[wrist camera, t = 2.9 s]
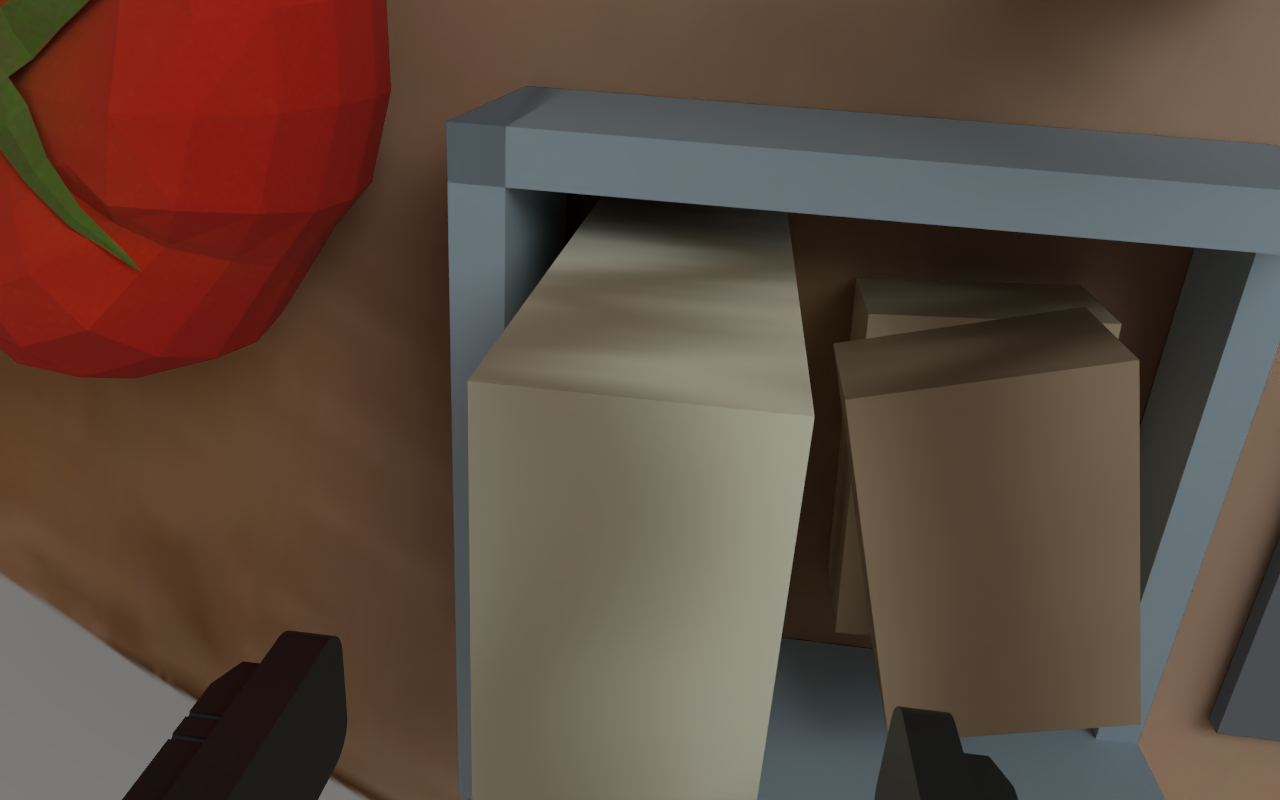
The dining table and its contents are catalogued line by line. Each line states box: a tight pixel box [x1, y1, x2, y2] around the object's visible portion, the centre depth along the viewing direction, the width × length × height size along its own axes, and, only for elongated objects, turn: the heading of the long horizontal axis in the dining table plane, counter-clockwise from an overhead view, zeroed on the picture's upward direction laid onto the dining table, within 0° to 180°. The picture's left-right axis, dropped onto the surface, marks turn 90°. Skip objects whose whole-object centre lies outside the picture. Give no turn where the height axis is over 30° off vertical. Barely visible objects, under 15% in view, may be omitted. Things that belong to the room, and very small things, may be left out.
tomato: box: [0, 0, 391, 378], centre depth 18 cm, size 13×12×8 cm
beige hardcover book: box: [468, 196, 815, 800], centre depth 19 cm, size 4×11×12 cm, turn 177°
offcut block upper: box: [833, 307, 1141, 738], centre depth 20 cm, size 5×8×3 cm, turn 11°
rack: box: [446, 86, 1280, 800], centre depth 21 cm, size 16×15×6 cm
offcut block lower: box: [828, 278, 1122, 635], centre depth 23 cm, size 5×8×3 cm, turn 0°
